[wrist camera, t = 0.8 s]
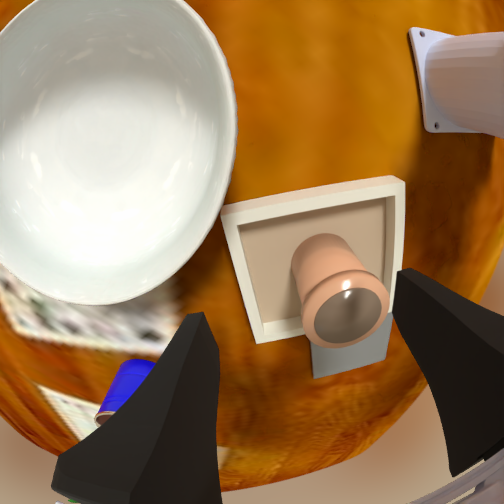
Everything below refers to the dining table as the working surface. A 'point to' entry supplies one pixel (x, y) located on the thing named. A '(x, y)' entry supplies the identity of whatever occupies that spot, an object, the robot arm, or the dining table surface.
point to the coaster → (352, 352)
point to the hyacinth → (122, 388)
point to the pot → (336, 292)
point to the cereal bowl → (110, 145)
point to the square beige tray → (302, 227)
